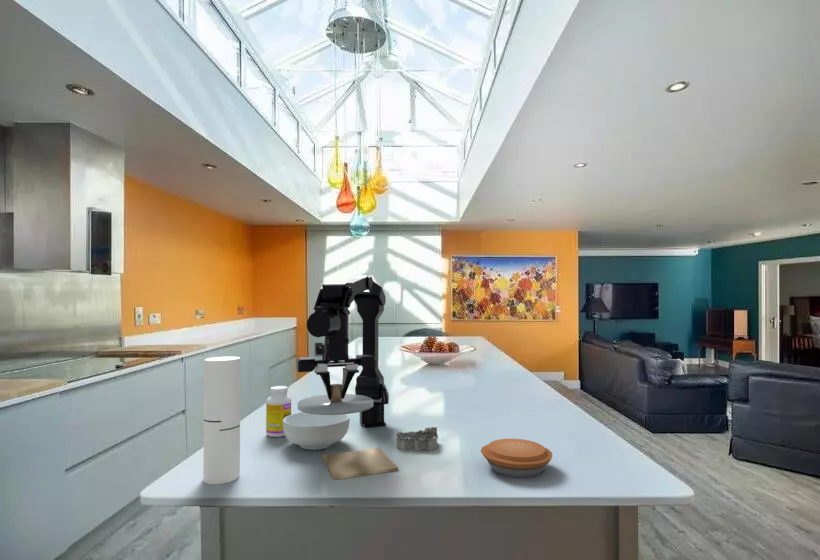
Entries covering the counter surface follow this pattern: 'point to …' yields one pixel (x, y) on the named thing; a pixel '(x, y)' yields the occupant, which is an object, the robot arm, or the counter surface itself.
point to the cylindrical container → (221, 419)
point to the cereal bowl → (315, 429)
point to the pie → (516, 457)
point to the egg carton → (418, 439)
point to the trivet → (358, 463)
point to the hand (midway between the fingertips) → (336, 398)
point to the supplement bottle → (277, 410)
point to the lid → (335, 403)
